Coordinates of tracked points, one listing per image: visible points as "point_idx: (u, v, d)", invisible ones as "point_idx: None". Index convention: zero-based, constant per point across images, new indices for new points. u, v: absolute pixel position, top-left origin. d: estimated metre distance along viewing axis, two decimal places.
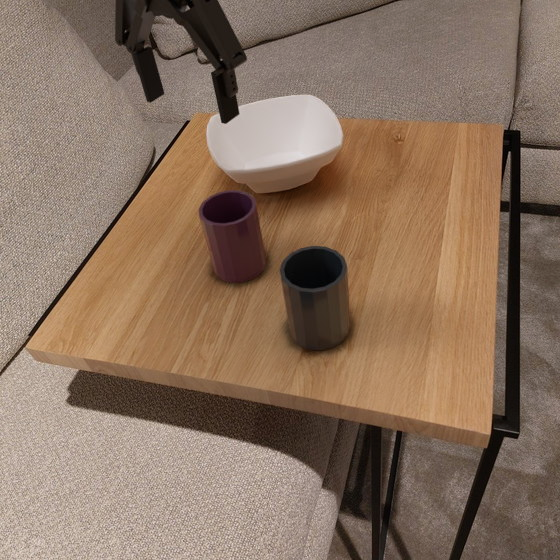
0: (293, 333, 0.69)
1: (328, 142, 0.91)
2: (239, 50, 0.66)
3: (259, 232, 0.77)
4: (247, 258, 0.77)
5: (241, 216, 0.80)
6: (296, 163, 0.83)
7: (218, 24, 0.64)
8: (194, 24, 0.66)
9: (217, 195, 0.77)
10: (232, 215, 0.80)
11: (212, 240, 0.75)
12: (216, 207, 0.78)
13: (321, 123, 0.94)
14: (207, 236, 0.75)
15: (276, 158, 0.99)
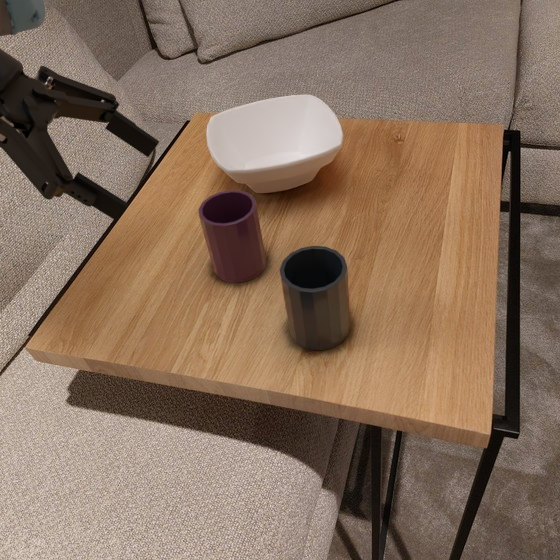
0: (293, 333, 0.69)
1: (328, 142, 0.91)
2: (44, 180, 0.63)
3: (259, 232, 0.77)
4: (247, 258, 0.77)
5: (241, 216, 0.80)
6: (296, 163, 0.83)
7: (20, 162, 0.63)
8: (34, 148, 0.66)
9: (217, 195, 0.77)
10: (232, 215, 0.80)
11: (212, 240, 0.75)
12: (216, 207, 0.78)
13: (321, 123, 0.94)
14: (207, 236, 0.75)
15: (276, 158, 0.99)
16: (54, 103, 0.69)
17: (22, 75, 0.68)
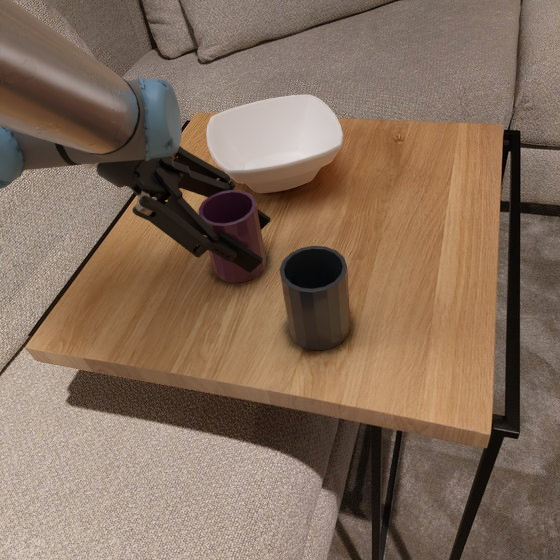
0: (293, 333, 0.69)
1: (328, 142, 0.91)
2: (197, 243, 0.70)
3: (259, 232, 0.77)
4: None
5: (241, 216, 0.80)
6: (296, 163, 0.83)
7: (170, 230, 0.70)
8: None
9: (217, 195, 0.77)
10: (232, 215, 0.80)
11: None
12: (216, 207, 0.78)
13: (321, 123, 0.94)
14: None
15: (276, 158, 0.99)
16: (177, 174, 0.74)
17: None
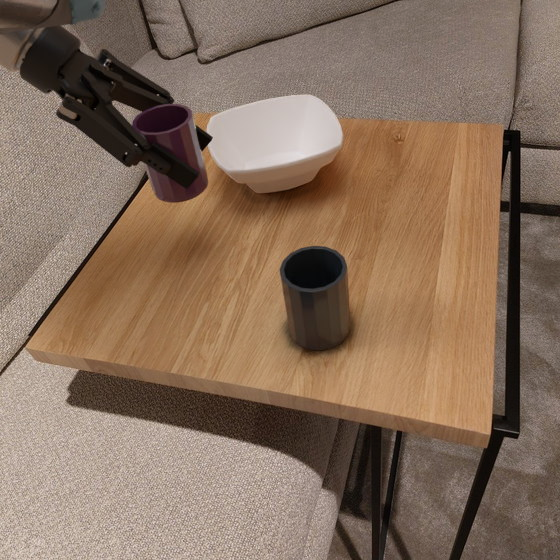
0: (293, 333, 0.69)
1: (328, 142, 0.91)
2: (126, 150, 0.67)
3: (197, 147, 0.73)
4: None
5: None
6: (296, 163, 0.83)
7: (97, 136, 0.66)
8: None
9: (153, 109, 0.74)
10: None
11: None
12: (154, 122, 0.75)
13: (321, 123, 0.94)
14: None
15: (276, 158, 0.99)
16: (108, 82, 0.70)
17: (78, 52, 0.70)
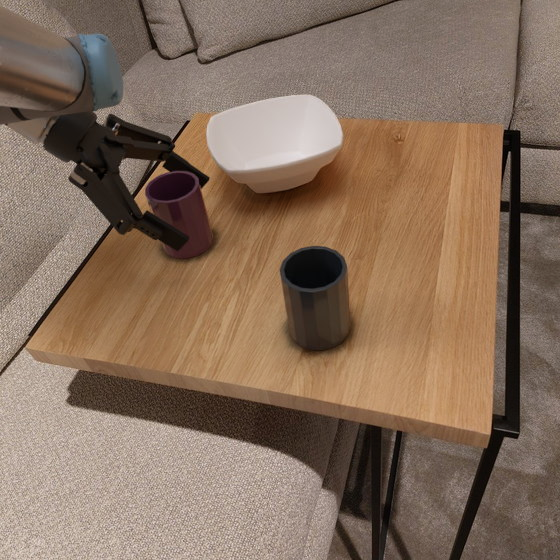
0: (293, 333, 0.69)
1: (328, 142, 0.91)
2: (120, 219, 0.72)
3: (203, 210, 0.82)
4: (191, 234, 0.82)
5: None
6: (296, 163, 0.83)
7: (98, 202, 0.73)
8: (108, 189, 0.75)
9: (164, 175, 0.82)
10: (180, 195, 0.85)
11: None
12: (164, 187, 0.83)
13: (321, 123, 0.94)
14: (153, 213, 0.80)
15: (276, 158, 0.99)
16: (122, 148, 0.78)
17: (95, 123, 0.78)
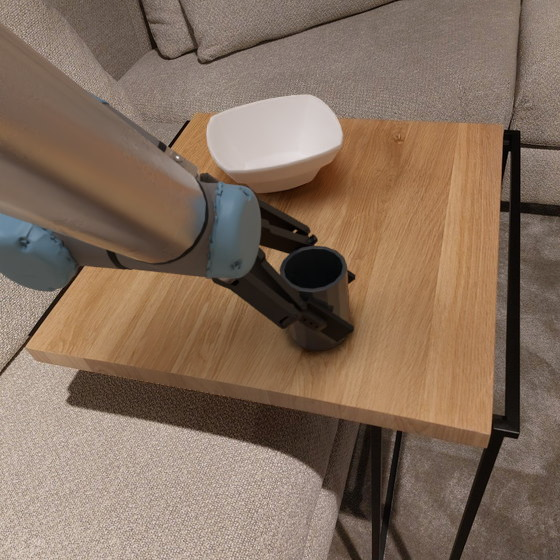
0: (293, 333, 0.69)
1: (328, 142, 0.91)
2: (285, 315, 0.60)
3: None
4: None
5: None
6: (296, 163, 0.83)
7: (254, 300, 0.60)
8: None
9: None
10: None
11: None
12: None
13: (321, 123, 0.94)
14: None
15: (276, 158, 0.99)
16: None
17: None
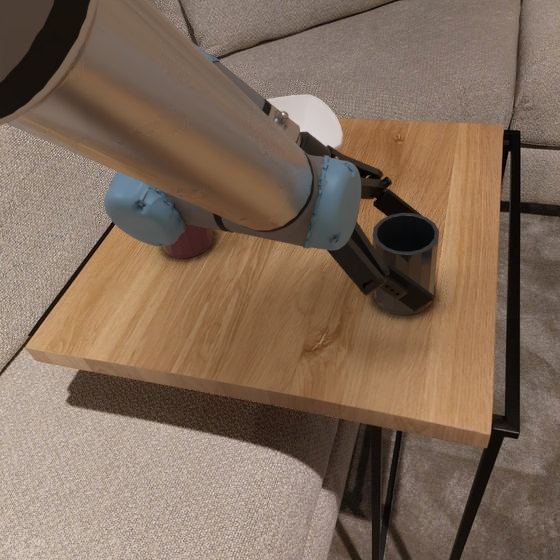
0: (380, 298, 0.72)
1: (328, 142, 0.91)
2: (370, 277, 0.59)
3: None
4: (191, 234, 0.82)
5: None
6: None
7: (341, 257, 0.60)
8: None
9: None
10: None
11: None
12: None
13: (321, 123, 0.94)
14: None
15: None
16: None
17: None
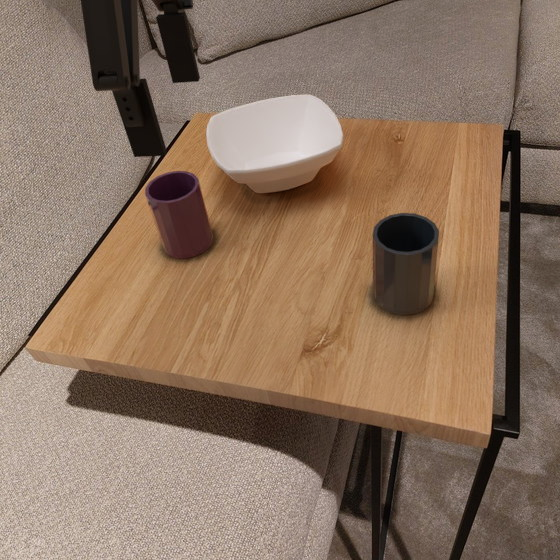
0: (380, 298, 0.72)
1: (328, 142, 0.91)
2: (115, 68, 0.42)
3: (203, 210, 0.82)
4: (191, 234, 0.82)
5: None
6: (296, 163, 0.83)
7: (94, 17, 0.41)
8: None
9: (164, 175, 0.82)
10: (180, 195, 0.85)
11: (158, 217, 0.80)
12: (164, 187, 0.83)
13: (321, 123, 0.94)
14: (153, 213, 0.80)
15: (276, 158, 0.99)
16: None
17: None
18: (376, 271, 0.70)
